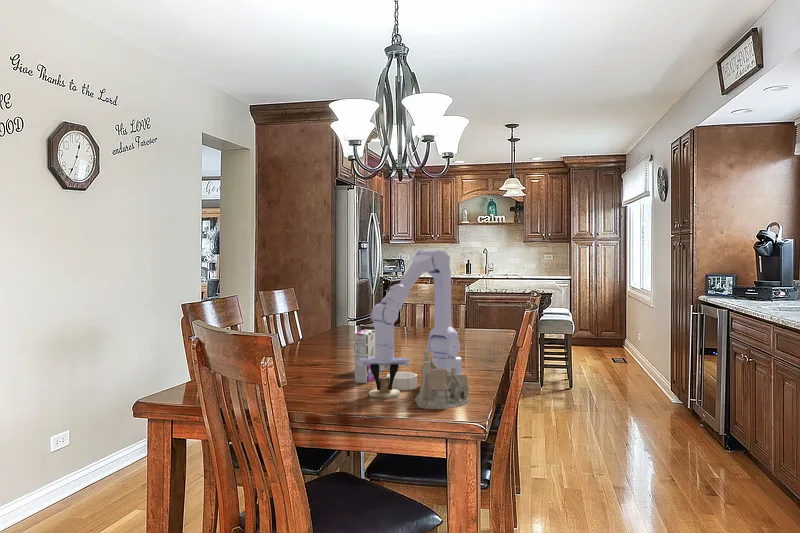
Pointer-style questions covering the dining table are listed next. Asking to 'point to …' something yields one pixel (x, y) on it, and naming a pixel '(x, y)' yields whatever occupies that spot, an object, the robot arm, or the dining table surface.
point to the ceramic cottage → (441, 387)
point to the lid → (384, 390)
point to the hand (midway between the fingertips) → (384, 389)
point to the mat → (384, 398)
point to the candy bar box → (363, 354)
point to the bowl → (404, 381)
